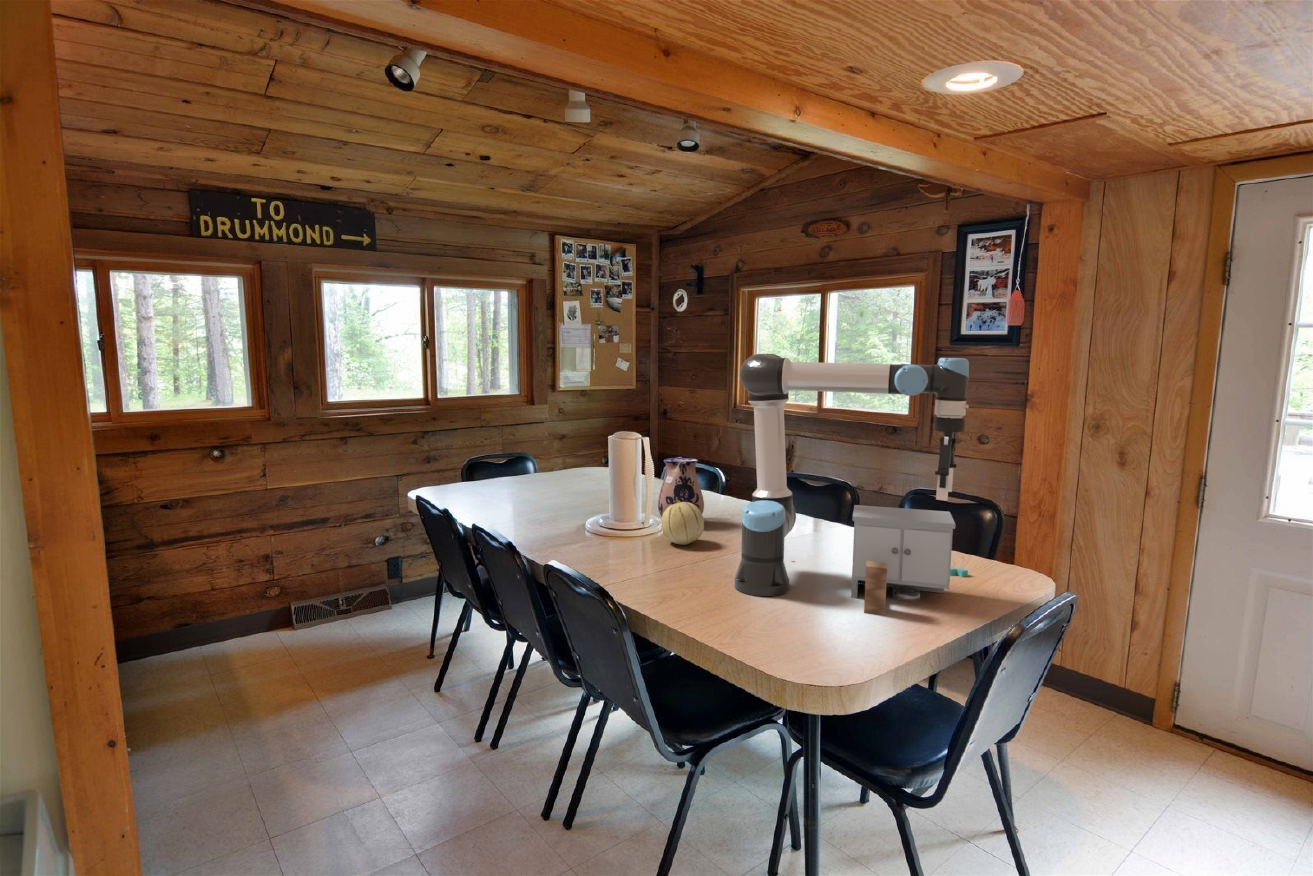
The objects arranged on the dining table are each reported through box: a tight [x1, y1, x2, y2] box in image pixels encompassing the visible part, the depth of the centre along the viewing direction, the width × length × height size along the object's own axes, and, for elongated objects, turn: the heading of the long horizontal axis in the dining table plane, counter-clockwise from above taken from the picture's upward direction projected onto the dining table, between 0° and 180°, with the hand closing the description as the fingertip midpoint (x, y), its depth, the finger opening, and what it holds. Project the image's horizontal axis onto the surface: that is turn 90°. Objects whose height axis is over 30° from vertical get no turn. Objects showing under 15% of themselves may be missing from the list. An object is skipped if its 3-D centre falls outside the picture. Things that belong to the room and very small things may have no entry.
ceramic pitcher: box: [657, 456, 705, 518], centre depth 262 cm, size 18×21×25 cm
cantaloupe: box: [660, 500, 705, 546], centre depth 234 cm, size 15×15×15 cm
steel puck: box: [891, 587, 921, 603], centre depth 183 cm, size 7×7×2 cm
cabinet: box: [850, 504, 956, 599], centre depth 184 cm, size 25×16×22 cm, turn 72°
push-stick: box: [863, 561, 887, 616], centre depth 180 cm, size 5×20×12 cm, turn 162°
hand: (944, 495), depth 183 cm, fingers open, 13 cm apart
